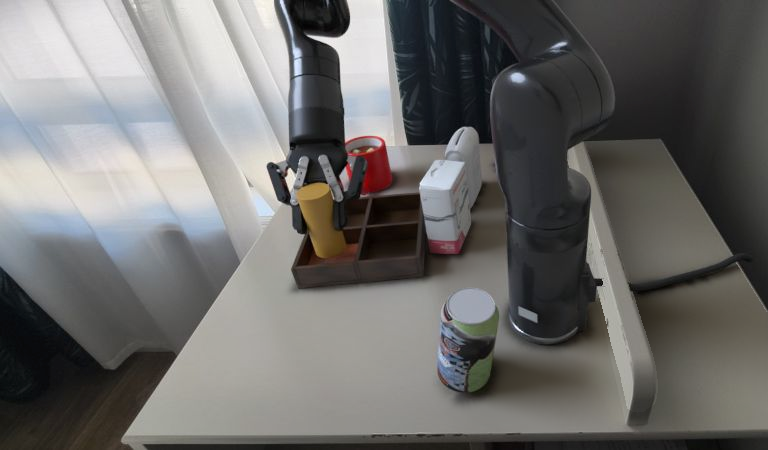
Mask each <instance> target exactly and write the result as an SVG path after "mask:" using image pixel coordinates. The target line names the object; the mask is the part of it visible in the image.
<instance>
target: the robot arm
mask: <svg viewBox="0 0 768 450" xmlns="http://www.w3.org/2000/svg"><path fill="white" fill-rule="evenodd" d="M449 1H450V3H453V4H455V5H456V6H458V7H459V8H461V9H462V10H463V11H465V12H467V13H469V14H470V15H472V16H473V17H474V18H476V20H477V19H478V20H479V21H480V22H481V23H483V24H484V25H486V26H487V27H488V28H490V29H491V30H492V31H493V32H494V33H496V35H497V36H498V37H499V38H500V39H501V40H502V41H503V42H504V43H505V44H506V45H507V47H508V48H509V50H510V51H511V52H512V53H513V55H514V56H515V58H516V59H517V61H518V62H517V63H514V64H511V65H508V67H506V68H504V69H503V70H502V71H500V72H501V73H500V72H499V73H500V74H499V75H498V76H497V78H496V80H495V82H494V84H493V87H492V86H491V87H492V88H491V91H490V96H489V97H490V100H489V120H490V130H491V138H492V147H493V148H492V149H493V156H494V157H493V158H494V165H495V167H494V168H495V174H496V178H497V182H498V185H499V188H500V190H501V193H502V196H503V198H504V216H505V218H504V219H505V237H506V263H507V283H508V321H509V323H510V326H511V328H512V329H513V331H514V333H516V334H517V335H518V336H519V337H520V338H522V339H524V340H526V341H528V342H531V343H534V344H537V345H538V344H539V345H555V344H559V343H560V344H561V343H563V342H566V341H568V340H570V339H571V338H573V337H574V336H575V335H576V334H577V333H579V332H585V331H586V330H587V322H588V321H587V320H588V310H589V309H588V308H589V303H596V300H597V299H596V298H597V291H598V289H597V288H598V287H603V286H602V285H603V281H602V279H603V278H600V277H599V278H597V277H596V278H595V277H594V275H593V271H592V269H591V266H590V264H589V263H588V261H587V256H588V254H587V253H588V242H589V230H590V216H591V215H590V214H591V205H592V188H591V184H590V182H589V180H588V178H587V177H586V176H585V175H584V174H582V173H581V172H580V171H577V170H576V169H573V168H571V167H568V153H569V150H570V149H572V148H575V146H577V145H579V144H581V143H583V142H585V141H587V140H588V139H590V138H591V137H593V136H595V135H597V134H598V133H599V132H601V131H603V130H604V129H605V128H606V127H607V126H608V125H609V124H610V122H611V120H612V119H613V116H614V112H615V109H616V92H615V87H614V84H613V80H612V77H611V75H610V72H609V71H608V69H607V67H606V66H605V64H604V62H603V60H602V59H601V58H600V56H599V55H598V53H597V52H596V50H594V48H593V47H592V45H591V44H590V42H588V41H587V39H586V38H585V36H583V35H582V33H581V32H580V31H579V29H578V28H577V27H576V26H575V25H574V24H573V22H572V21H571V20H570V19H569V17H568V16H567V15H566V14H565V12H564V11H563V10H562V9H561V7H560V6H559V5H558V4H557V3H556V2H555V0H449ZM273 9H274V12H275V16H276V20H277V22H278V24H279V28H280V30H281V33H282V35H283V39H284V42H285V47H286V50H287V57H288V80H289V88H288V94H287V95H288V96H287V113H288V114H287V116H288V146H289V151H288V154H287V156H286V158H285V160H282V161H279V162H276V163H274V162H273V161H270V162H268V163H267V164H266V170H267V173H268V176H269V179H270V182H271V185H272V188H273V191H274V194H275V197H276V200H277V201H278V202H280V203H282V204H283V205H285V206H290V207H291V221H292V222H291V225H292V228H293V230H295V231H296V233H297V234H299V235H305V234H307V226H306V223H305V220H304V217H303V214H302V211H301V208H300V205H299V202H298V199H297V196H296V193H297V191H298V190H299V189H300V188H302V187H304V186H306V185H308V184H312V183H325V184H327V185H329V187H330V190H331V193H332V197H333V199H335V203H333V214H334V229H335V230H336V231H343V227H346V226H347V223H348V222H347V204H348V203H349V202H350V201H352V200H358V199H359V198H360V197H361V196H362V195H361V191H362V187H363V183H364V179H365V175H366V171H367V167H368V162H367V161H366V159H365V158H364V157H363V156H361V155H359V156H357V157H355V156H350V155H348V153H347V152H346V149H345V142H346V129H345V107H344V98H343V93H342V83H341V61H340V55H339V53H338V51H337V50H336V48H334V47H333V46H332V45H330V44H328V43H326V42H323V41H321V40H317V39H315V38H312V37H319V38H329V39H337V38H341V37H343V36H344V35H345V34H346V33H347V31H348V30H349V28H350V25H351V11H350V5H349V2H348V0H273ZM348 163H349V164H350V169H351V170H352V175H351V179H350V182H349V183H348V187H347V190H345V187H344V185H343V182H342V179H341V177H340V176H341V175H342V173H343V172H344V170H345V169H346V165H347V164H348ZM289 169H291V171H292V172H293V173H294V174H295V178H294V182H293V185H292V186H293V191H292V193H291V192H290V188H289V186H288V183H287V180H286V178H287V177H288V174H289V172H288V171H289ZM739 261H744V262H746V263H752V262H753V261H754V259H753V257H752V256H751V255H750V254H748V253H746V252H739V253H736V254H734V255H731V256H729V257H728V258H725V259H724V260H721V261H719V262H717V263H715V264H712V265H711V264H710V265H708V266H706V267H702V268H698V269H695V270H690V271H687V272H683V273H680V274H676V275H672V276H669V277H665V278H661V279H658V280H654V281H651V282H650V281H649V282H644V283H631V282H629V281H627V282H628V284H629V287H630V290H631V291H630V292H632V293H637V292H646V291H647V292H648V291H651V290H656V289H659V288H663V287H666V286H670V285H673V284H676V283H680V282H684V281H688V280H691V279H692V280H693V279H695V278H698V277H702V276H706V275H709V274H712V273H715V272H718V271H721V270H723V269H726V268H728V267H729V266H732V265H734V264H735V263H738V262H739Z"/></svg>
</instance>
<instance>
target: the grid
mask: <svg viewBox="0 0 768 450" xmlns="http://www.w3.org/2000/svg"><path fill="white" fill-rule="evenodd" d="M333 200H334V203H335V199H334V198H333ZM347 222H348V223H347V226H346V227H343V231H342V232H343V235H344V239H345V242H346V249H345V250H344V252H342V253H341V254H340V255H338V256H335V257H332V258H321V257H319V256H317V255H316V252H315V249H314V246H313V243H312V240H311V237H310V234H309V232H308V229H307V234H303V236H302V237H303V238H302V240H301V242H300V245H299V248H298V250H297V252H296V255H295V258H294V260H293V262H292V265H291V268H290V271H291V274H292V276H293V279H294V281H295V284H296V287H297V289H307V288H319V287H328V286H339V285H340V286H341V285H349V284H350V285H351V284H361V283H363V284H364V283H372V282H381V281H382V282H385V281H393V280H404V279H405V280H406V279H415V278H424V271H425V270H424V269H425V252H426V251H425V249H426V235H427V231H426V225H425V219H424V213H423V208H422V202H421V197H420V191H416V192H404V193H394V194H393V193H392V194H382V195H370V196H369V195H368V196H360V198H359V199H358V200H352V201H350V202H349V203H348V204H347Z"/></svg>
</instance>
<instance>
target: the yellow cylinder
mask: <svg viewBox="0 0 768 450" xmlns="http://www.w3.org/2000/svg"><path fill="white" fill-rule="evenodd" d="M296 196H297V199H298V202H299V205H300V208H301V211H302V214H303V217H304V220H305V223H306V226H307V229H308V232H309V234H310V237H311V240H312V243H313V246H314V249H315V252H316V255H317V256H319V257H321V258H332V257H335V256H338V255H340V254H341V253H342V252H344V250H345V249H346V242H345V239H344V235H343V232H342V231H336V230H335V229H334V214H333V203H334V200H333V199H334V196H333V193H332V191H331V188H330V187H329V185H328V184H325V183H312V184H308V185H306V186H304V187H302V188H300V189H299V190H298V191H297V193H296Z"/></svg>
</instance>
